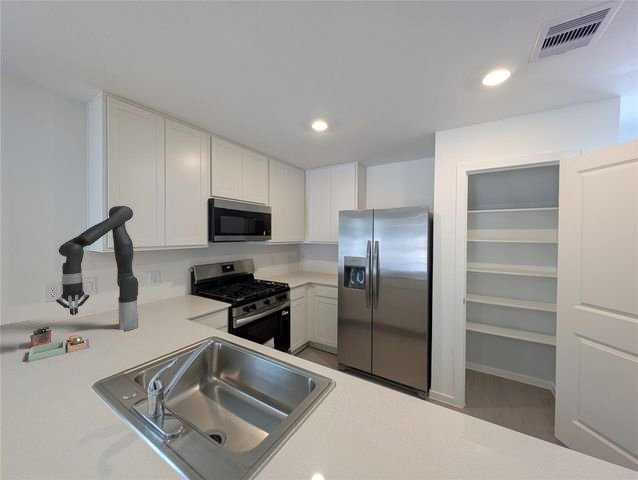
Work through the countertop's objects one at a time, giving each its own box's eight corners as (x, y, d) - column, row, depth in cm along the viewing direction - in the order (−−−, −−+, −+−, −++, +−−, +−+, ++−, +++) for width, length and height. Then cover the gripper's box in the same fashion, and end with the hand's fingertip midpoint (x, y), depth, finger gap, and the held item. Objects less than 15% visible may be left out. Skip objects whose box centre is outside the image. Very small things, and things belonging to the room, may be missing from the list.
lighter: (33, 351, 124) (33, 331, 124) (28, 350, 125) (27, 330, 124) (53, 344, 132) (53, 325, 132) (48, 343, 133) (48, 325, 132)
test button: (78, 341, 132) (78, 334, 132) (79, 344, 130) (78, 336, 130) (69, 343, 130) (69, 336, 130) (69, 346, 127) (69, 338, 127)
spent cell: (81, 345, 128) (80, 335, 128) (81, 347, 126) (81, 337, 126) (72, 347, 126) (72, 337, 126) (73, 349, 124) (72, 338, 123)
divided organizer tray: (88, 341, 136) (88, 334, 136) (89, 350, 126) (89, 342, 126) (29, 354, 121) (29, 346, 121) (26, 365, 111) (25, 357, 111)
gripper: (89, 279, 136) (90, 310, 137) (54, 282, 127) (55, 316, 127) (90, 281, 131) (91, 313, 131) (53, 285, 121) (55, 320, 122)
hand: (73, 314), depth 129 cm, fingers closed
